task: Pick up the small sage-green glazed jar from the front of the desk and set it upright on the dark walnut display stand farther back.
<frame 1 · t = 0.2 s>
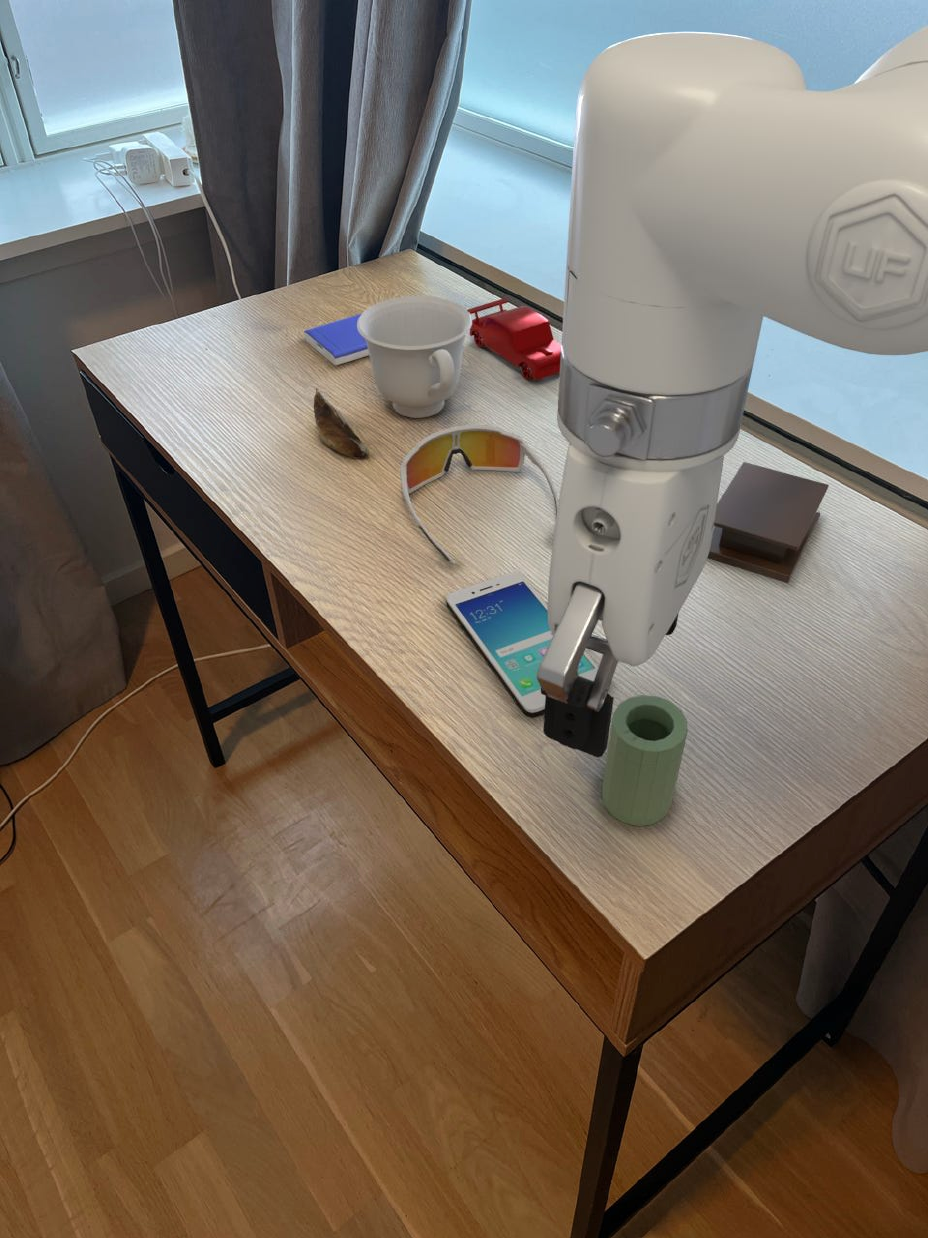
hand: (612, 680, 51), 18 cm above the table, tool pointing down, fingers open, 9 cm apart
sunglasses: (478, 510, 93), on the table
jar: (636, 797, 68), on the table
teacup: (423, 412, 106), on the table
oyster shell: (339, 440, 102), on the table
stand: (760, 537, 89), on the table
toy car: (518, 358, 115), on the table
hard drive: (365, 341, 119), on the table
smartphone: (522, 644, 79), on the table
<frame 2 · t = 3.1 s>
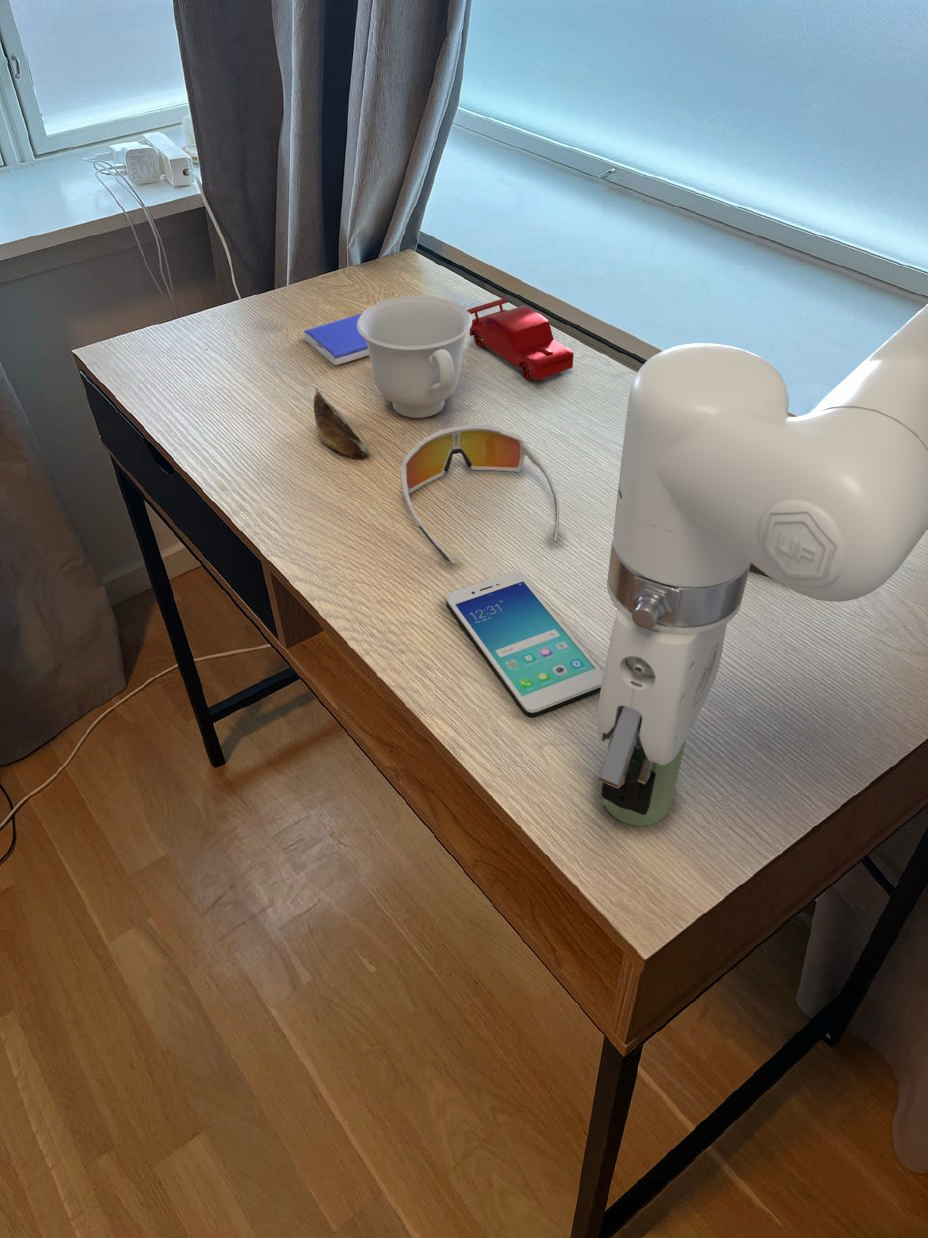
hand: (640, 772, 66), 3 cm above the table, tool pointing down, fingers closed on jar, 4 cm apart
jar: (636, 797, 68), on the table, touching gripper
everything else where it was.
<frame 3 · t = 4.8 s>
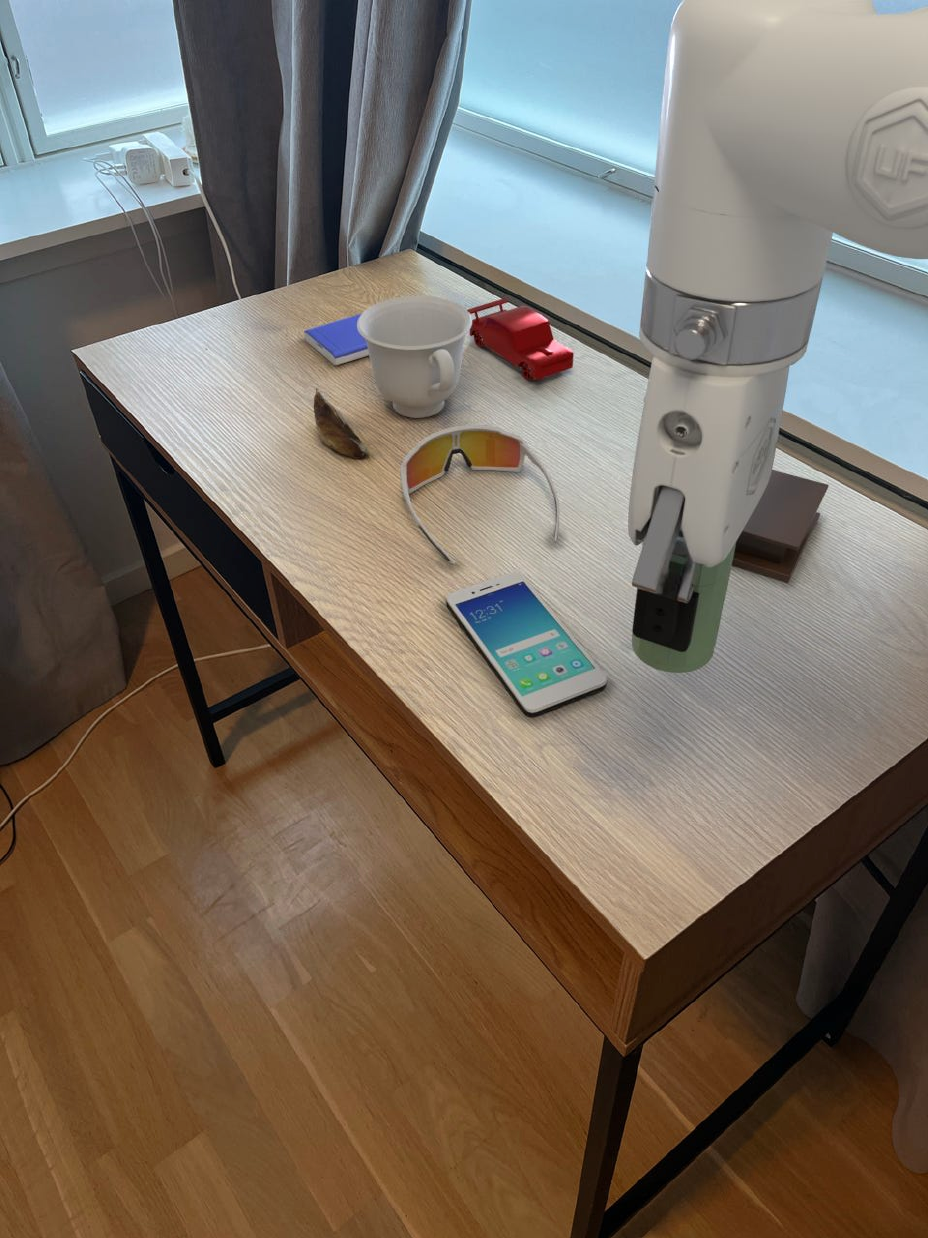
hand: (678, 608, 55), 18 cm above the table, tool pointing down, fingers closed on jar, 4 cm apart
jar: (672, 644, 57), point 15 cm above the table, touching gripper
everything else where it was.
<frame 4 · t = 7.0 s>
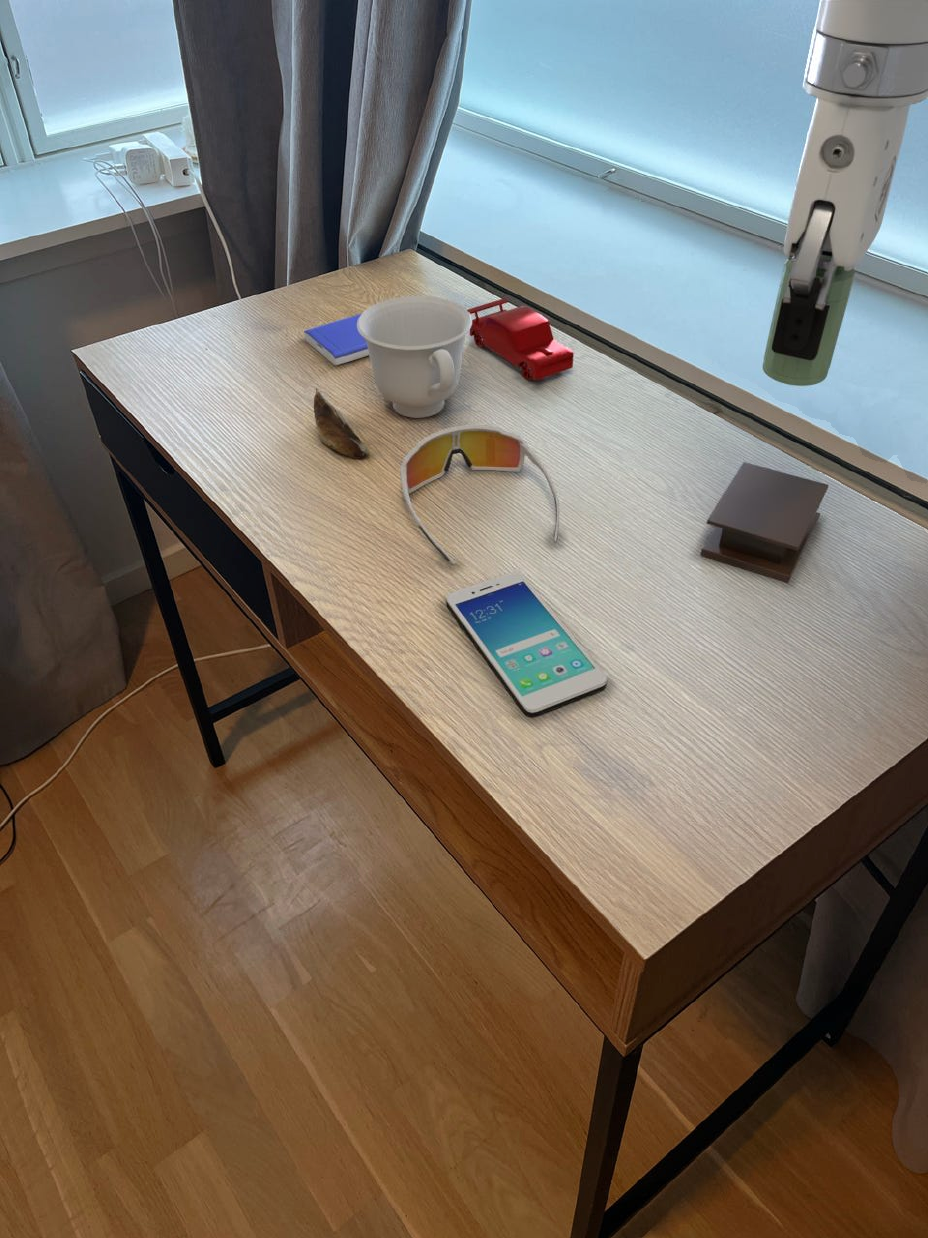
hand: (804, 336, 72), 22 cm above the table, tool pointing down, fingers closed on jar, 4 cm apart
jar: (794, 370, 74), point 19 cm above the table, touching gripper
everything else where it was.
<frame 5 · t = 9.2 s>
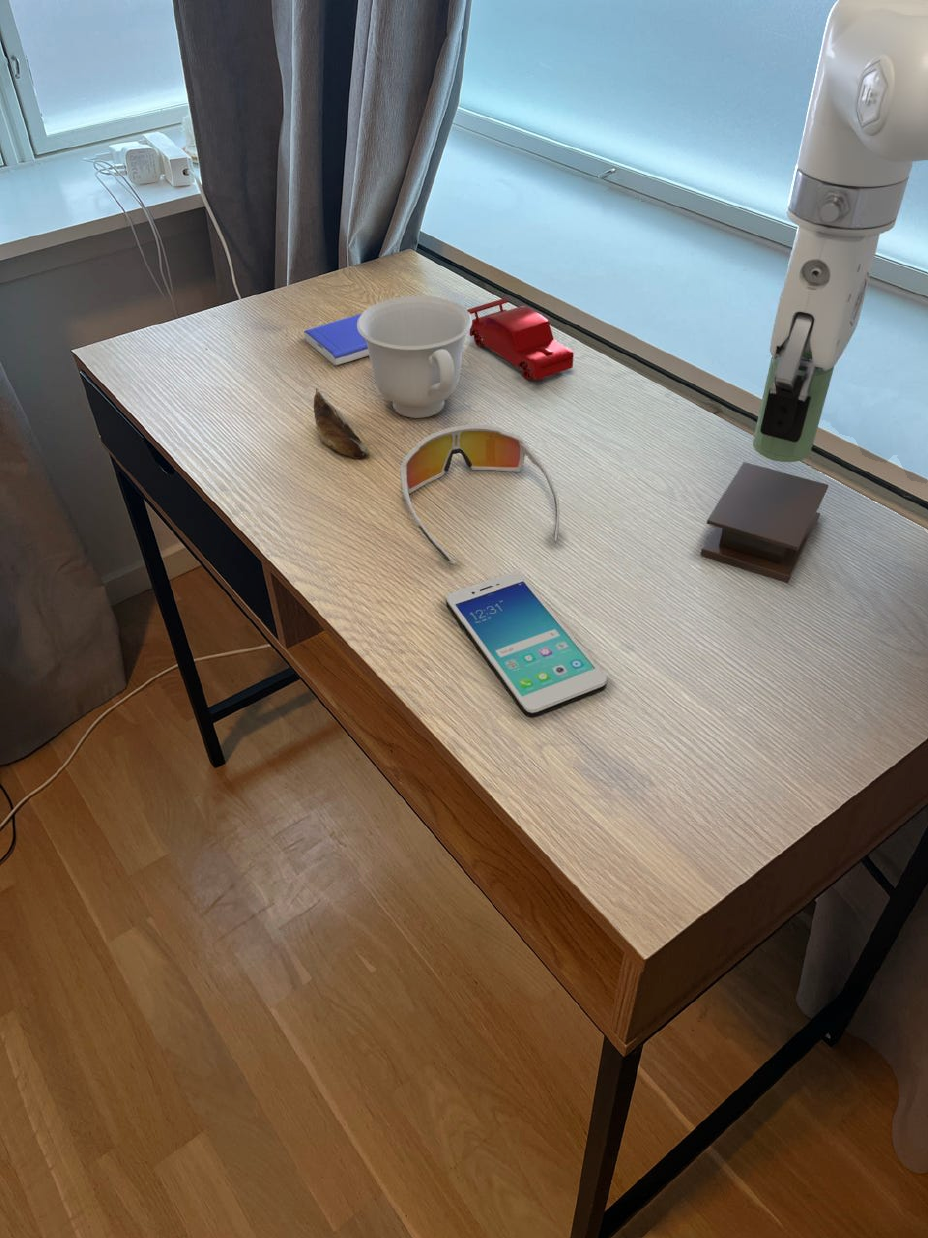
hand: (789, 418, 81), 13 cm above the table, tool pointing down, fingers closed on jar, 4 cm apart
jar: (781, 446, 82), point 10 cm above the table, touching gripper
everything else where it was.
when the fingers open (7 cm above the table, at t = 11.0 s): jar stays where it is, resting on stand.
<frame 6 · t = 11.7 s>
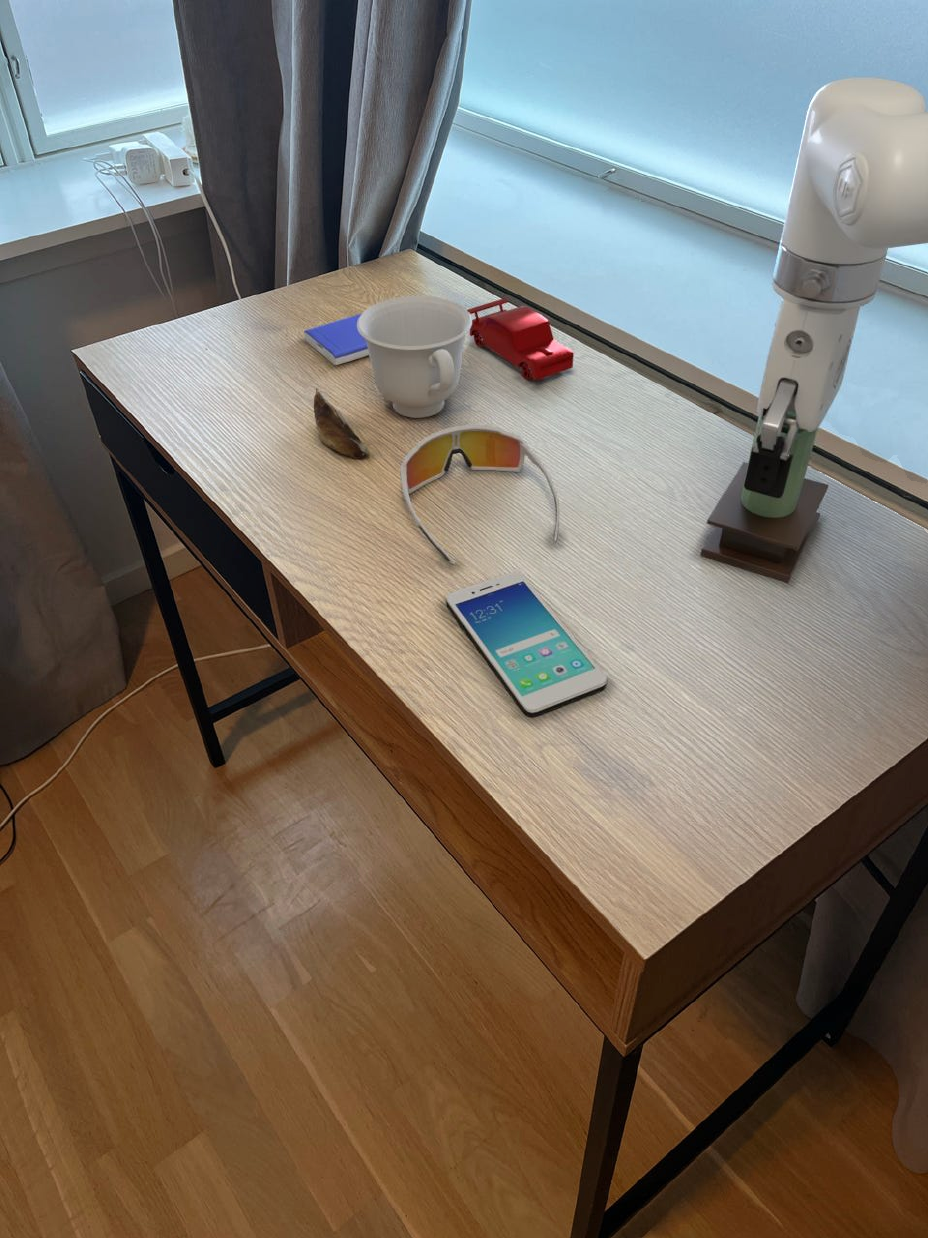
hand: (779, 463, 83), 8 cm above the table, tool pointing down, fingers open, 9 cm apart
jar: (768, 501, 86), point 4 cm above the table, touching stand
everything else where it was.
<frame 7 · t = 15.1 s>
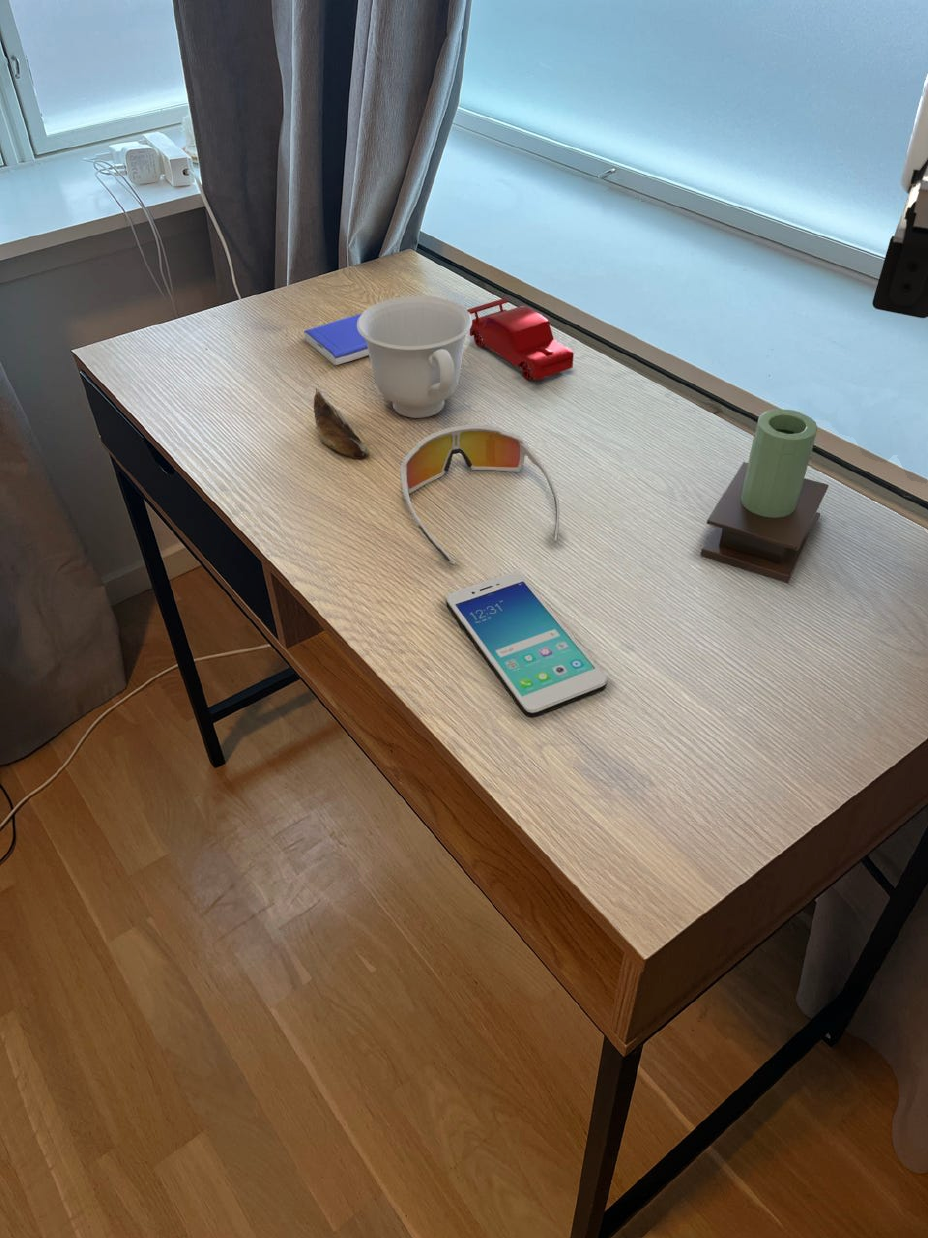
hand: (916, 279, 59), 30 cm above the table, tool pointing down, fingers open, 9 cm apart
nothing on the table moved.
at the end: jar inside the target area on the stand (0.1 cm from its centre), point 4.0 cm above the stand's base; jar tilted 0° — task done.
